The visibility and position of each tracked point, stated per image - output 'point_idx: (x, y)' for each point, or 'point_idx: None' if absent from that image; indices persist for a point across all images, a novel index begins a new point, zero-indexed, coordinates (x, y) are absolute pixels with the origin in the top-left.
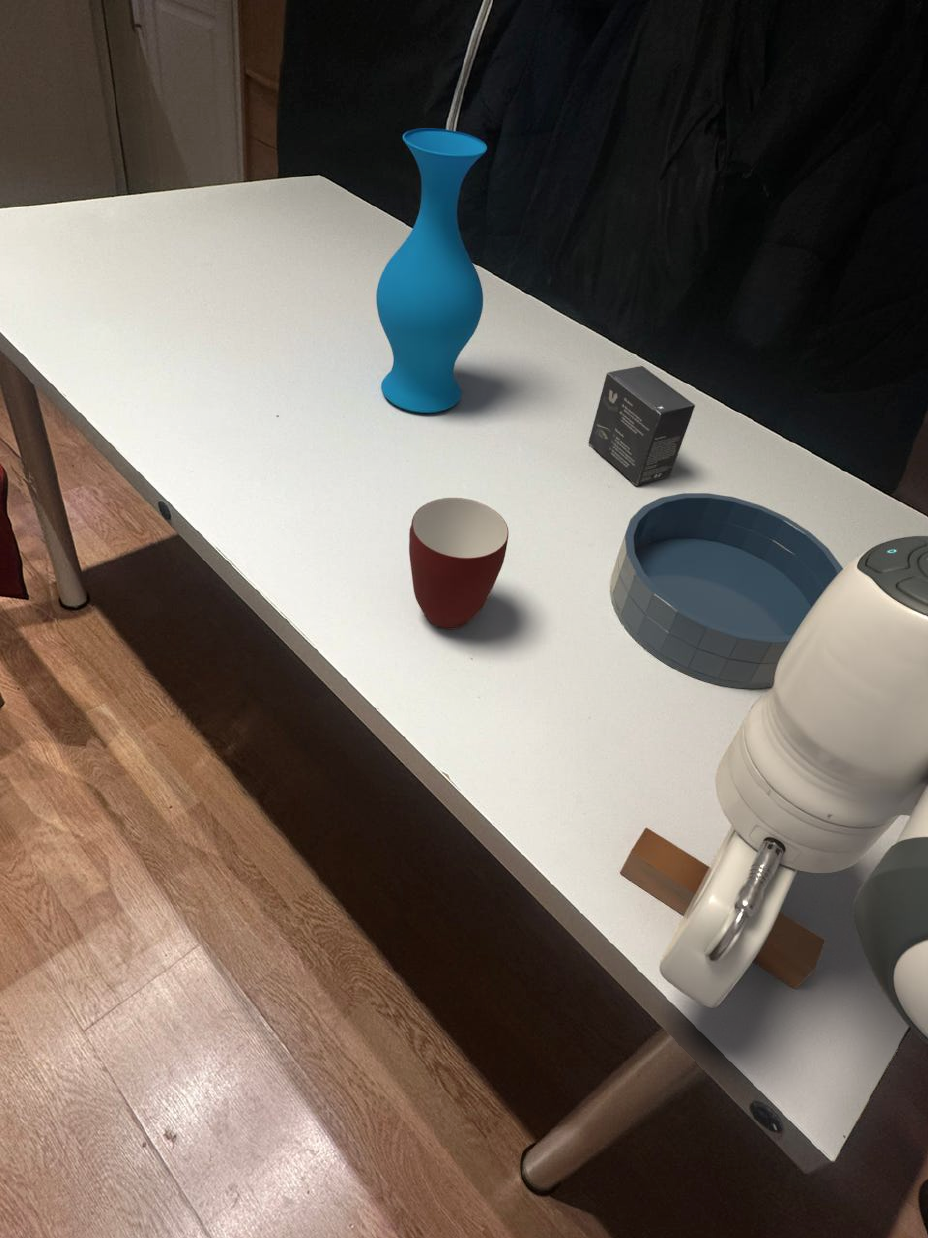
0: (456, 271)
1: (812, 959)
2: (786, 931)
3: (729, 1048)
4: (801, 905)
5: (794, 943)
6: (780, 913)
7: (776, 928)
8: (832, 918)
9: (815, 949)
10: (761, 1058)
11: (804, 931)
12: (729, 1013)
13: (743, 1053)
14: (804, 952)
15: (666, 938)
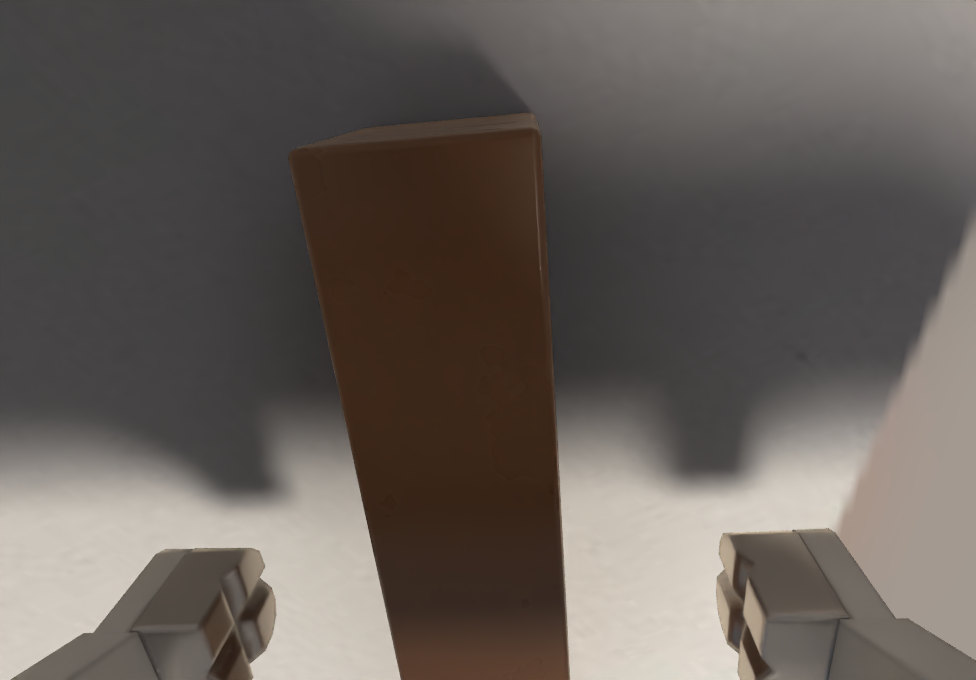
0: None
1: (475, 169)
2: (428, 360)
3: (961, 232)
4: (156, 251)
5: (461, 298)
6: (354, 420)
7: (453, 405)
8: (81, 112)
9: (397, 181)
10: (938, 101)
11: (343, 280)
12: (813, 292)
13: (954, 176)
14: (473, 231)
15: (673, 560)
